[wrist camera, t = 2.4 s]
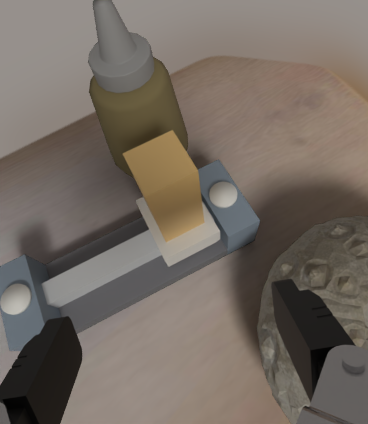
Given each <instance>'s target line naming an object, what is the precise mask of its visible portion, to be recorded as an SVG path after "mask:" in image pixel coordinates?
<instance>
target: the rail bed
mask: <svg viewBox="0 0 368 424" xmlns="http://www.w3.org/2000/svg"><path fill="white" fill-rule="evenodd" d="M198 173H199V181H200V190H201V198H202V202H203V204H204V205H205V207H206V209H207V210H208V212H209V214H210V215H211V217H212V219H213V220H214V222H215V224H216V225H217V227H218V229H219V230H220V240H218V241H217V242H216V243H214V244H212V245H210V246H208V247H206V248H204V249H202V250H200V251H198V252H196V253H195V254H193V255H191V256H189V257H187V258H185V259H183V260H181V261H179V262H177V263H175V264H173V265H171V266H170V267H169V266H168V265H167V264H166V262H165V260H164V258H163V256H162V254H161V252H160V250H159V248H158V246H157V244H156V242H155V240H154V238H153V236H152V234H151V232H150V230H149V228H148V226H147V224H146V222H145V220H144V218H143V217H141V218H139V219H137V220H135V221H133V222H131V223H129V224H127V225H125V226H123V227H121V228H119V229H117V230H115V231H113V232H111V233H109V234H107V235H105V236H102V237H100V238H98V239H96V240H94V241H92V242H90V243H88V244H86V245H84V246H82V247H80V248H78V249H76V250H74V251H72V252H70V253H68V254H66V255H64V256H62V257H60V258H58V259H56V260H54V261H52V262H50V263H48V264H46V265H44V264H42V263H40V262H39V261H37V260H35V259H33V258H31V257H29V256H27V255H25V254H24V255H22V256H20V257H18V258H16V259H14V260H12V261H10V262H8V263H6V264H4V265H2V266H0V310H1V314H2V319H3V323H4V328H5V332H6V337H7V341H8V346H9V350H10V351H21V350H22V349H23V347H24V345H26V344H27V343H28V342H29V341H30V340H31V339H32V338H33V337H34V336H35V335H38V334H40V332H41V330H42V328H43V327H44V325H45V323H46V321H47V320H49V319H54V318H60V317H65V316H69V317H70V318H71V320H72V323H73V326H74V328H75V331H76V334H78V333H79V332H81V331H83V330H85V329H87V328H89V327H91V326H93V325H95V324H97V323H98V322H100V321H102V320H104V319H106V318H108V317H110V316H112V315H114V314H116V313H117V312H119V311H121V310H123V309H125V308H127V307H129V306H131V305H133V304H135V303H136V302H138V301H140V300H142V299H144V298H146V297H148V296H150V295H152V294H154V293H155V292H157V291H159V290H161V289H163V288H165V287H167V286H169V285H171V284H173V283H175V282H176V281H178V280H180V279H182V278H184V277H186V276H188V275H190V274H192V273H194V272H195V271H197V270H199V269H201V268H203V267H205V266H207V265H209V264H211V263H213V262H214V261H216V260H218V259H220V258H222V257H224V256H226V255H228V254H230V253H232V252H233V251H235V250H237V249H239V248H241V247H243V246H245V245H247V244H249V243H251V242H252V241H254V240H255V236H256V233H257V229H258V226H259V222H260V220H259V218H258V217H257V215H256V214H255V212H254V211H253V209H252V208H251V206H250V205H249V203H248V202H247V200H246V199H245V198H244V196H243V195H242V193H241V192H240V190H239V189H238V187H237V186H236V184H235V183H234V181H233V180H232V178H231V177H230V175H229V174H228V172H227V171H226V170H225V168H224V167H223V165H222V164H221V162H220V161H219V159H218V160H216V161H214V162H212V163H210V164H208V165H206V166H204V167H202V168H200V169H198Z"/></svg>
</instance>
